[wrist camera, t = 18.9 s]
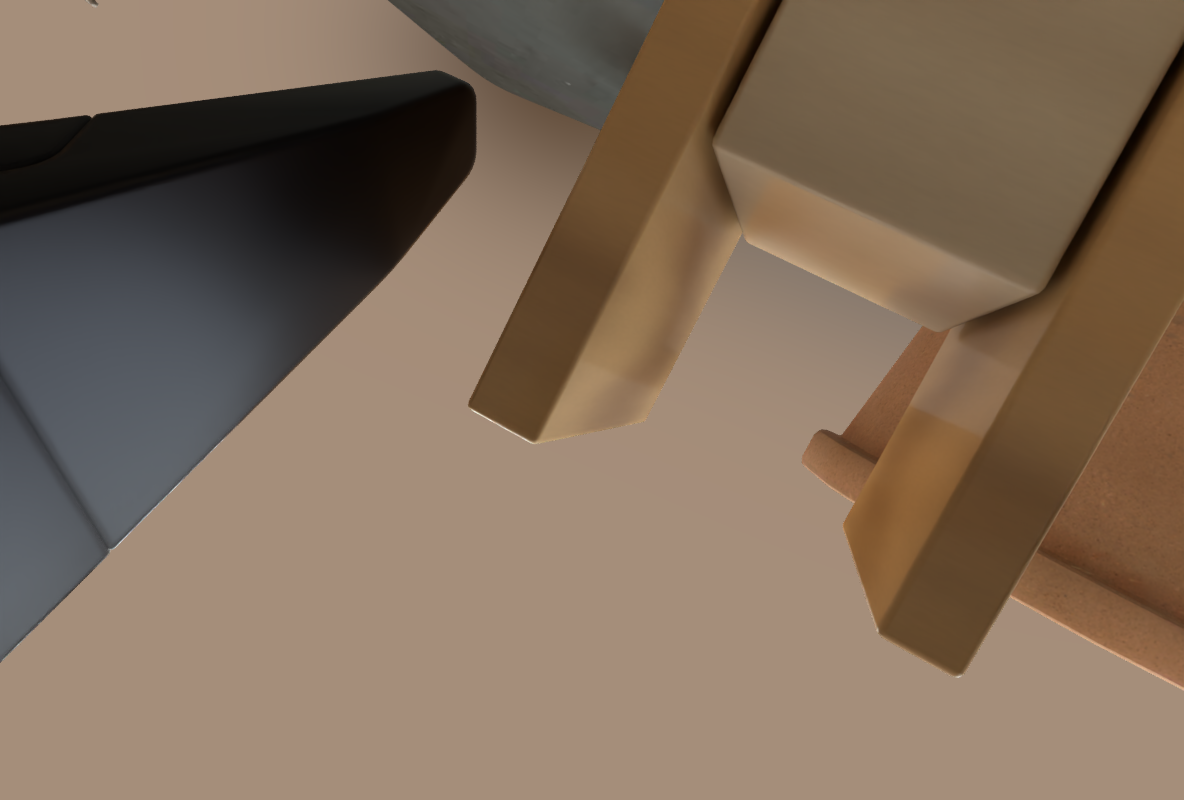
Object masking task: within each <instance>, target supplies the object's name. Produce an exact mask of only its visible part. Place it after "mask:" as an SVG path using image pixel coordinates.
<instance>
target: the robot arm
mask: <svg viewBox="0 0 1184 800" xmlns="http://www.w3.org/2000/svg"><path fill="white" fill-rule="evenodd" d="M475 158H476V95H475V92H474V89H473V88H472V86H471V85H470V84H469V83H467V82H465V81H463V80H461V79H458V78H456V77H454V76H452V75H449V74H447V73H445V72H442V71H437V70H435V71H426V72H418V73H410V74H403V75H395V76H388V77H379V78H372V79H364V80H356V81H349V82H341V83H333V84H325V85H317V86H310V87H302V88H295V89H287V90H279V91H271V92H263V93H255V94H248V95H240V96H232V97H225V98H217V99H209V100H202V101H193V102H186V103H178V104H171V105H162V106H155V107H148V108H139V109H132V110H124V111H116V112H108V113H100V114H96V115H95V116H94V117H93V118H91V117H90V116H87V115H84V116H76V117H68V118H61V119H54V120H45V121H36V122H27V123H18V124H10V125H1V126H0V662H1V661H2V660H4V659H5V657H6V656H8V654H10V653H11V652H12V651H13V650H14V648H16V647H17V646H18V645H19V644H20V643H21V642H22V641H23V639H24V638H26V636H28V635H29V634H30V633H31V631H33V630H34V629H35V628H36V627H37V626H38V624H40V623H41V622H42V621H43V620H44V619H45V618H46V617H47V616H48V615H49V614H50V612H52V610H53V609H55V608H56V607H57V606H58V605H59V603H61V601H63V599H65V598H66V597H67V596H68V595H69V594H70V593H71V592H72V591H73V590H74V589H75V588H76V587H77V586H78V584H80V583H81V582H82V581H83V580H84V579H85V578H86V577H87V576H88V575H89V574H90V573H91V572H92V571H93V570H94V569H95V568H96V567H97V565H99V564H100V563H101V562H102V561H103V560H104V559H105V558H106V557H107V556H108V555H109V553H110V549H114V548H115V547H116V546H117V545H118V544H119V543H120V542H121V541H122V540H123V539H124V538H125V537H126V536H127V535H128V534H129V533H130V532H131V531H132V530H133V529H134V528H135V527H136V526H137V525H138V524H139V523H140V522H141V521H142V520H143V519H144V518H145V517H146V516H147V515H148V514H149V513H150V512H151V511H152V510H153V509H154V508H155V507H156V506H157V505H158V504H159V503H160V502H161V501H162V500H163V499H164V498H165V497H166V496H167V495H168V494H169V493H170V492H171V491H172V490H173V489H174V488H175V487H176V486H177V485H178V484H179V483H180V482H181V481H182V480H183V479H184V478H185V477H186V476H187V475H188V474H189V473H190V472H191V471H192V470H193V469H194V468H195V467H196V466H197V465H198V464H199V463H200V462H201V461H202V460H203V459H204V458H205V457H206V456H207V455H208V454H209V453H210V452H211V451H212V450H213V449H214V448H215V447H216V446H217V445H218V444H219V443H220V442H221V441H222V440H223V439H224V438H225V437H226V436H227V435H228V434H229V433H230V432H231V431H232V430H233V429H234V428H235V427H236V426H237V425H238V424H239V423H240V422H241V421H242V420H243V419H244V418H245V417H246V416H247V415H248V414H249V413H250V412H251V411H252V410H253V409H254V408H255V407H256V406H257V405H258V404H259V403H260V402H261V401H262V400H263V399H264V398H265V397H267V395H269V393H271V392H272V391H273V389H274V388H276V386H278V384H279V383H280V382H281V381H283V380H284V379H285V378H286V377H287V376H288V375H289V374H290V372H291V371H293V370H294V369H295V367H297V366H298V365H299V364H300V363H301V362H302V361H303V359H305V358H306V357H307V356H308V354H310V353H311V351H312V350H314V349H315V348H316V346H318V345H319V344H320V343H321V342H322V341H323V339H325V338H326V337H327V336H328V335H329V334H330V333H331V331H333V329H335V328H336V327H337V326H338V325H339V324H340V323H341V322H342V321H343V319H345V318H346V317H347V316H348V315H349V314H350V312H352V311H353V310H354V309H355V308H356V307H357V306H358V305H359V304H360V303H361V302H362V301H363V300H364V299H365V298H366V297H367V296H368V295H369V294H370V293H371V292H372V291H373V290H374V289H375V288H376V287H377V286H378V285H379V283H381V281H383V279H384V278H385V277H386V276H387V275H388V274H389V273H390V272H391V271H392V270H393V269H394V267H395V266H396V265H397V264H398V263H399V262H400V260H401V259H402V258H403V257H404V256H405V255H406V253H407V252H408V251H409V249H410V248H411V247H412V246H413V245H414V243H415V242H416V241H417V240H418V238H419V237H420V235H422V233H423V232H424V231H425V229H426V228H427V227H428V226H429V225H430V223H431V222H432V221H433V219H434V218H435V217H436V216H437V214H438V213H439V212H440V211H441V209H442V208H443V207H444V206H445V204H446V203H447V202H448V201H449V199H450V198H451V197H452V196H453V194H454V193H455V192H456V191H457V189H458V188H459V187H460V186H461V184H462V183H463V182H464V181H465V179H466V178H467V176H468V175H469V174H470V172H471V170H472V168H473V165H474V162H475Z"/></svg>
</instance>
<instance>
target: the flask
mask: <svg viewBox="0 0 1184 800" xmlns="http://www.w3.org/2000/svg"><path fill="white" fill-rule="evenodd" d="M85 1H87V2H88V3H90V4H91V5H92V6H93V7H97V6H98V3H97V2H96V1H95V0H85Z"/></svg>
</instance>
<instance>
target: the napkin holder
mask: <svg viewBox="0 0 1184 800" xmlns="http://www.w3.org/2000/svg"><path fill="white" fill-rule="evenodd" d="M742 232H743V235H744V237H745V240H746V241H747V242H748V243H750V244H752V245H754V246H756V247H758V248H760V249H762V250H764V251H766V252H769V253H771V254H773V255H775V256H777V257H779V258H781V259H784V260H785V261H787V262H790V263H792V264H794V265H796V266H798V267H800V268H802V269H805V270H806V271H808V272H811V273H813V274H815V275H817V276H819V277H821V278H823V279H825V280H827V281H830V282H832V283H834V284H836V285H838V286H840V287H842V288H845V289H847V290H849V291H851V292H853V293H855V294H857V295H859V296H861V297H863V298H865V299H867V300H870V301H872V302H874V303H876V304H878V305H880V306H882V307H884V308H886V309H888V310H891V311H893V312H895V313H897V314H899V315H902V316H903V317H905V318H907V319H910V320H912V321H914V322H916V323H918V324H920V325H922V326H924V327H926V328H928V329H931V330H933V331H935V332H944V331H946V330H949V329H951V330H950V332H949V333H948V335H947V337H946V339H945V341H944V342H943V344H942V346H941V348H940V350H939V352H938V353H937V355H936V357H935V359H934V361H933V362H932V364H931V366H930V368H929V370H928V371H927V373H926V375H925V377H924V379H923V380H922V382H921V384H920V386H919V388H918V389H917V391H916V393H915V395H914V397H913V398H912V400H911V402H910V404H909V406H908V408H907V409H906V411H905V413H904V415H903V417H902V418H901V420H900V422H899V424H898V426H897V427H896V429H895V431H894V433H893V435H892V436H891V438H890V440H889V442H888V444H887V445H886V447H885V449H884V451H883V453H882V454H881V456H880V458H879V460H878V462H877V464H876V465H875V467H874V469H873V471H872V473H871V474H870V476H869V478H868V480H867V482H866V483H865V485H864V487H863V489H862V491H861V492H860V494H859V496H858V498H857V500H856V501H855V503H854V505H853V507H852V509H851V511H850V512H849V514H848V516H847V518H846V520H845V522H844V523H843V530H844V533H845V536H846V539H847V542H848V545H849V548H850V551H851V554H852V558H853V560H854V564H855V567H856V569H857V573H858V576H859V579H860V582H861V585H862V588H863V591H864V594H865V597H866V600H867V603H868V606H869V609H870V613H871V616H872V619H873V622H874V625H875V628H876V631H877V633H878V634H879V635H880V636H881V637H882V638H883V639H885V640H887V641H889V642H891V643H892V644H894V645H896V646H898V647H899V648H901V649H903V650H905V651H907V652H908V653H910V654H912V655H914V656H916V657H918V658H919V659H921V660H923V661H925V662H926V663H928V664H930V665H932V666H934V667H935V668H937V669H939V670H941V671H943V672H945V673H946V674H948V675H950V676H954V677H961V676H962V675H963V674H965V672H966V671H967V669H968V668H969V666H970V664H971V662H972V661H973V659H974V657H975V655H976V654H977V652H978V650H979V649H980V647H981V645H982V644H983V642H984V640H985V638H986V637H987V635H988V633H989V632H990V630H991V628H992V627H993V625H994V623H995V621H996V620H997V618H998V616H999V614H1000V613H1001V611H1002V609H1003V608H1004V606H1005V604H1006V603H1007V601H1008V599H1009V597H1010V596H1011V594H1012V592H1013V591H1014V589H1015V587H1016V586H1017V584H1018V582H1019V580H1020V579H1021V577H1022V575H1023V574H1024V572H1025V570H1026V568H1027V567H1028V565H1029V563H1030V562H1031V560H1032V558H1033V556H1034V555H1035V553H1036V551H1037V550H1038V548H1039V546H1040V545H1041V543H1042V541H1043V539H1044V538H1045V536H1046V534H1047V533H1048V531H1049V529H1050V527H1051V526H1052V524H1053V522H1054V521H1055V519H1056V517H1057V515H1058V514H1059V512H1060V510H1061V509H1062V507H1063V505H1064V504H1065V502H1066V500H1067V498H1068V497H1069V495H1070V493H1071V492H1072V490H1073V488H1074V486H1075V485H1076V483H1077V481H1078V480H1079V478H1080V476H1081V474H1082V473H1083V471H1084V469H1085V468H1086V466H1087V464H1088V463H1089V461H1090V459H1091V457H1092V456H1093V454H1094V452H1095V451H1096V449H1097V447H1098V445H1099V444H1100V442H1101V440H1102V439H1103V437H1104V435H1105V433H1106V432H1107V430H1108V428H1109V427H1110V425H1111V423H1112V422H1113V420H1114V418H1115V416H1116V415H1117V413H1118V411H1119V410H1120V408H1121V406H1122V404H1123V403H1124V401H1125V399H1126V398H1127V396H1128V394H1129V392H1130V391H1131V389H1132V387H1133V386H1134V384H1135V382H1136V381H1137V379H1138V377H1139V375H1140V374H1141V372H1142V370H1143V369H1144V367H1145V365H1146V363H1147V362H1148V360H1149V358H1150V357H1151V355H1152V353H1153V351H1154V350H1155V348H1156V346H1157V345H1158V343H1159V341H1160V340H1161V338H1162V336H1163V334H1164V333H1165V331H1166V329H1167V328H1168V326H1169V324H1170V322H1171V321H1172V319H1173V317H1174V316H1175V314H1176V312H1177V310H1178V309H1179V307H1180V305H1181V304H1182V302H1183V300H1184V0H664V2H663V4H662V6H661V8H660V10H659V12H658V14H657V16H656V18H655V20H654V22H653V25H652V27H651V29H650V31H649V33H648V35H647V37H646V39H645V41H644V43H643V45H642V47H641V49H640V51H639V53H638V55H637V57H636V59H635V61H634V64H633V66H632V68H631V70H630V72H629V74H628V76H627V78H626V80H625V82H624V84H623V86H622V88H621V90H620V92H619V94H618V96H617V98H616V100H615V103H614V105H613V107H612V109H611V111H610V113H609V115H608V117H607V119H606V121H605V123H604V125H603V127H602V129H601V131H600V133H599V135H598V137H597V139H596V142H595V144H594V146H593V148H592V150H591V152H590V154H589V156H588V158H587V160H586V162H585V164H584V166H583V168H582V170H581V172H580V174H579V176H578V178H577V181H576V183H575V185H574V187H573V189H572V191H571V193H570V195H569V197H568V199H567V201H566V203H565V205H564V207H563V209H562V211H561V213H560V216H559V218H558V220H557V222H556V224H555V226H554V228H553V230H552V232H551V234H550V236H549V238H548V240H547V242H546V244H545V246H544V248H543V251H542V252H541V255H540V256H539V259H538V261H537V263H536V265H535V267H534V269H533V271H532V273H531V275H530V277H529V279H528V281H527V284H526V285H525V287H524V289H523V291H522V293H521V295H520V298H519V299H518V302H517V304H516V306H515V308H514V310H513V312H512V314H511V316H510V318H509V320H508V322H507V324H506V326H505V328H504V330H503V332H502V334H501V337H500V338H499V341H498V343H497V345H496V347H495V349H494V351H493V353H492V355H491V357H490V359H489V361H488V363H487V365H486V367H485V369H484V371H483V373H482V375H481V378H480V379H479V382H478V384H477V386H476V388H475V390H474V392H473V394H472V396H471V398H470V400H469V404H468V406H469V408H470V409H471V410H472V411H474V412H476V413H478V414H479V415H481V416H483V417H485V418H487V419H488V420H490V421H492V422H494V423H496V424H497V425H499V426H501V427H503V428H504V429H506V430H508V431H510V432H512V433H513V434H515V435H517V436H519V437H521V438H523V439H524V440H526V441H528V442H530V443H531V444H539V443H544V442H548V441H553V440H558V439H563V438H567V437H572V436H577V435H582V434H587V433H591V432H596V431H601V430H606V429H611V428H616V427H621V426H625V425H630V424H635V423H639V422H644V421H645V420H646V418H647V416H648V415H649V413H650V411H651V409H652V407H653V405H654V403H655V401H656V399H657V397H658V395H659V393H660V391H661V389H662V388H663V386H664V384H665V382H666V380H667V378H668V376H669V374H670V372H671V370H672V368H673V366H674V364H675V362H676V360H677V358H678V356H679V355H680V352H681V351H682V349H683V347H684V345H685V343H686V341H687V339H688V337H689V335H690V333H691V331H692V329H693V327H694V325H695V323H696V322H697V320H698V317H699V316H700V314H701V312H702V310H703V308H704V306H705V304H706V302H707V300H708V298H709V296H710V294H711V292H712V290H713V289H714V286H715V284H716V283H717V281H718V279H719V277H720V275H721V273H722V271H723V269H724V267H725V265H726V263H727V261H728V259H729V258H730V255H731V253H732V252H733V250H734V248H735V246H736V244H737V242H738V240H739V238H740V236H741V234H742Z"/></svg>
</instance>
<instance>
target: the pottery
mask: <svg viewBox="0 0 1184 800" xmlns="http://www.w3.org/2000/svg"><path fill="white" fill-rule="evenodd" d="M950 330H951V329H949V330H946V331H944V332H935V331H933V330H931V329H928V328H926V327H924V326H922V327H921V329H920V330H919V332H918V333H917V334H916V335H915V337H914V338H913V340H912V341H911V342H910V344H909V345H908V346H907V348H906V349H905V350H904V352H903V353H902V355H901V356H900V357H899V359H898V360H897V361H896V363H895V364H894V365H893V367H892V368H891V370H890V371H889V372H888V373H887V375H886V376H885V377H884V379H883V380H882V382H881V383H880V384H879V386H878V387H877V388H876V390H875V391H874V392H873V394H872V395H871V397H870V398H869V399H868V401H867V402H866V403H865V405H864V406H863V407H862V409H861V410H860V411H859V413H858V414H857V415H856V417H855V418H854V419H853V421H852V422H851V424H850V425H849V426H848V428H847V429H846V430H845V432H844V433H843V434H842V435H837V434H835V433H833V432H830V431H828V430H819V431H818V432H817V433H816V434H814V436H813V438H812V440H811V441H810V443H809V445H808V447H807V449H806V451H805V452H804V454H803V456H802V464H803V465H804V466H805V467H806V468H807V469H808V470H809V471H811V472H812V473H813V474H814V475H815V476H817V477H818V478H819V479H820V480H821V481H823V482H824V483H825V484H826V485H827V486H829V487H830V488H831V489H833V490H834V491H836V492H838V493H839V494H840V495H842V496H843V497H845V498H847V499H848V500H849V501H851V502H853V503H855V501H856V500H857V498H858V496H859V494H860V492H861V491H862V489H863V487H864V485H865V483H866V482H867V480H868V478H869V476H870V474H871V473H872V471H873V469H874V467H875V465H876V464H877V462H878V460H879V458H880V456H881V454H882V453H883V451H884V449H885V447H886V445H887V444H888V442H889V440H890V438H891V436H892V435H893V433H894V431H895V429H896V427H897V426H898V424H899V422H900V420H901V418H902V417H903V415H904V413H905V411H906V409H907V408H908V406H909V404H910V402H911V400H912V398H913V397H914V395H915V393H916V391H917V389H918V388H919V386H920V384H921V382H922V380H923V379H924V377H925V375H926V373H927V371H928V370H929V368H930V366H931V364H932V362H933V361H934V359H935V357H936V355H937V353H938V352H939V350H940V348H941V346H942V344H943V342H944V341H945V339H946V337H947V335H948V333H949V332H950ZM1010 598H1012V599H1014V600H1016V601H1018V602H1020V603H1021V604H1023V605H1025V606H1027V607H1028V608H1030V609H1032V610H1034V611H1036V612H1037V613H1040V614H1041V615H1043V616H1045V617H1046V618H1048V619H1050V620H1052V621H1054V622H1055V623H1057V624H1059V625H1061V626H1063V627H1064V628H1066V629H1068V630H1070V631H1072V632H1073V633H1075V634H1077V635H1079V636H1081V637H1083V638H1084V639H1086V640H1088V641H1090V642H1091V643H1093V644H1095V645H1097V646H1099V647H1101V648H1103V649H1105V650H1107V651H1109V652H1111V653H1113V654H1114V655H1116V656H1118V657H1120V658H1122V659H1124V660H1126V661H1128V662H1130V663H1132V664H1134V665H1136V666H1138V667H1140V668H1142V669H1143V670H1145V671H1147V672H1149V673H1151V674H1153V675H1155V676H1157V677H1159V678H1161V679H1163V680H1165V681H1167V682H1168V683H1170V684H1172V685H1174V686H1176V687H1178V688H1180V689H1182V690H1184V300H1183V302H1182V304H1181V305H1180V307H1179V309H1178V310H1177V312H1176V314H1175V316H1174V317H1173V319H1172V321H1171V322H1170V324H1169V326H1168V328H1167V329H1166V331H1165V333H1164V334H1163V336H1162V338H1161V340H1160V341H1159V343H1158V345H1157V346H1156V348H1155V350H1154V351H1153V353H1152V355H1151V357H1150V358H1149V360H1148V362H1147V363H1146V365H1145V367H1144V369H1143V370H1142V372H1141V374H1140V375H1139V377H1138V379H1137V381H1136V382H1135V384H1134V386H1133V387H1132V389H1131V391H1130V392H1129V394H1128V396H1127V398H1126V399H1125V401H1124V403H1123V404H1122V406H1121V408H1120V410H1119V411H1118V413H1117V415H1116V416H1115V418H1114V420H1113V422H1112V423H1111V425H1110V427H1109V428H1108V430H1107V432H1106V433H1105V435H1104V437H1103V439H1102V440H1101V442H1100V444H1099V445H1098V447H1097V449H1096V451H1095V452H1094V454H1093V456H1092V457H1091V459H1090V461H1089V463H1088V464H1087V466H1086V468H1085V469H1084V471H1083V473H1082V474H1081V476H1080V478H1079V480H1078V481H1077V483H1076V485H1075V486H1074V488H1073V490H1072V492H1071V493H1070V495H1069V497H1068V498H1067V500H1066V502H1065V504H1064V505H1063V507H1062V509H1061V510H1060V512H1059V514H1058V515H1057V517H1056V519H1055V521H1054V522H1053V524H1052V526H1051V527H1050V529H1049V531H1048V533H1047V534H1046V536H1045V538H1044V539H1043V541H1042V543H1041V545H1040V546H1039V548H1038V550H1037V551H1036V553H1035V555H1034V556H1033V558H1032V560H1031V562H1030V563H1029V565H1028V567H1027V568H1026V570H1025V572H1024V574H1023V575H1022V577H1021V579H1020V580H1019V582H1018V584H1017V586H1016V587H1015V589H1014V591H1013V592H1012V594H1011V596H1010Z"/></svg>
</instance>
